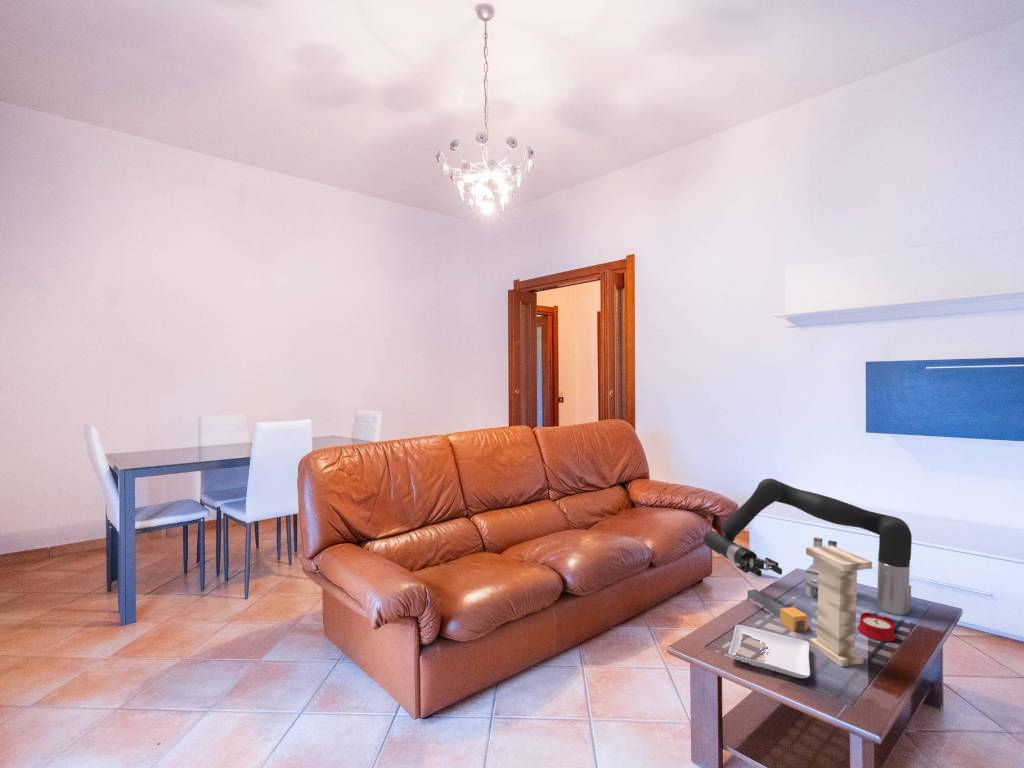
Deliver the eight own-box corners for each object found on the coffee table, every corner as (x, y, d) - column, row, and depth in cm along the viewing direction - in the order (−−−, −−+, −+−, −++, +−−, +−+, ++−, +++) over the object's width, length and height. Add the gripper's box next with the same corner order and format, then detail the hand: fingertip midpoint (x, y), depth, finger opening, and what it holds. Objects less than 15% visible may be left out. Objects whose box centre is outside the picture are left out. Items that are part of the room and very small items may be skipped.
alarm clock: (856, 625, 166) (859, 599, 178) (856, 642, 168) (859, 615, 179) (896, 636, 160) (896, 608, 172) (895, 653, 161) (896, 624, 173)
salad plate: (809, 650, 158) (809, 640, 158) (810, 687, 140) (810, 675, 140) (735, 632, 169) (735, 622, 169) (727, 664, 151) (727, 653, 150)
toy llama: (803, 597, 194) (804, 546, 194) (815, 584, 207) (817, 535, 206) (825, 604, 189) (827, 551, 188) (837, 589, 201) (838, 540, 201)
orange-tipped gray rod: (757, 598, 194) (758, 585, 194) (807, 629, 171) (807, 615, 170) (745, 599, 193) (745, 586, 193) (793, 631, 169) (793, 617, 169)
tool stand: (830, 640, 164) (832, 545, 163) (869, 664, 150) (871, 561, 149) (803, 643, 162) (806, 547, 161) (841, 668, 148) (843, 564, 147)
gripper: (725, 548, 197) (754, 564, 181) (757, 545, 200) (788, 561, 185) (725, 567, 198) (753, 584, 182) (757, 564, 201) (787, 581, 185)
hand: (771, 572), depth 183 cm, fingers open, 8 cm apart
